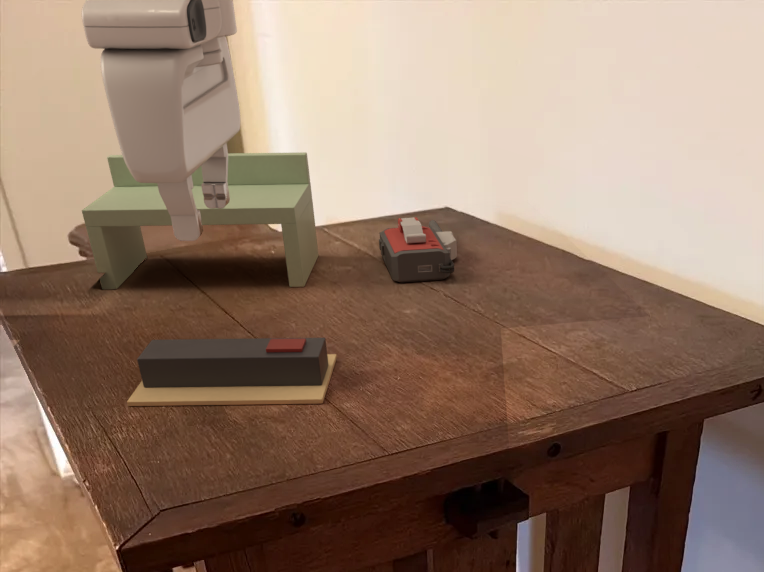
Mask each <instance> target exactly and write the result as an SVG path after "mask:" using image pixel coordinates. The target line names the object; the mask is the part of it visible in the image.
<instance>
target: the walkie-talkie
mask: <svg viewBox="0 0 764 572" xmlns="http://www.w3.org/2000/svg"><path fill="white" fill-rule="evenodd" d="M457 245H458V241H457V239H456V237H455V236H454V233H453V232H452V231H451V230H447V231H443V229H441V227H440V226H439V223H437V220H434V219H431V220H429V222H428V226H426V225H422V223H421V221H419V218H418V217H417V216H416V217H414V216H413V217H401V218H400V217H399V218H397V227H388V228H386V229H384V230H382V231H380V232H379V239H378V248H379V251H380V255H381V258H382V260H383V262H384V264H385V266H386V269H387V270H388V273H389V275H390V278H391V279H392V281H394V282H398V283H413V282H414V283H415V282H427V281H429V282H430V281H440V280H445V279H447V278H448V277H450V276H451V274H453V273H455V266H456V265H455V263H454V261H453V260H455V259H456V258H457V257H458V246H457Z"/></svg>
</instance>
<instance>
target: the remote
mask: <svg viewBox="0 0 764 572" xmlns="http://www.w3.org/2000/svg"><path fill="white" fill-rule="evenodd" d="M327 354H328V349H327V339H326V337H271V338H270V337H268V338H267V337H265V338H264V337H261V338H189V339H187V338H185V339H184V338H183V339H182V338H178V339H151V341H149V343H148V344H147V346H146V347H145V348H144V349H143V351H142V352H141V353H140V355H139V356H138V357H137V358H136V361H137V365H138V369H139V373H140V377H141V381H143V385H144V388H154V387H234V386H313V385H322V383H323V380H324V377H325V374H326V371H327V368H328V365H329V364H328V356H327Z"/></svg>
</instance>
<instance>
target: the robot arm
mask: <svg viewBox="0 0 764 572" xmlns="http://www.w3.org/2000/svg"><path fill="white" fill-rule="evenodd" d="M234 5H235V4H234V0H85V1H84V3H83V5H82V8H81V22H82V26H83V31H84V36H85V38H86V42H87V44H88V45H89V47H90V48H92V49H95V50H96V49H97V50H98V49H99V50H101V49H102V52H101V55H100V71H101V72H100V73H101V77H102V83H103V87H104V92H105V97H106V100H107V104H108V108H109V113H110V116H111V120H112V123H113V127H114V131H115V135H116V138H117V141H118V147H119V149H120V152H121V155H122V156H123V158H124V161H125V163H126V165H127V167H128V169H129V171H130V173H131V175H132V176H133V178H134V179H135V180H136V181H137V182H140V183H157V184H158V189H159V193H160V195H161V198H162V200H163V202H164V204H165V206H166V208H167V210H168V212H169V214H170V216H171V221H172V230H173V235H174V237H175V239H176V240H177V241H180V242H195V241H197V240H198V239H199V238H200V237H201V235H202V234H203V232H204V228H203V227H204V225H202V221H201V214H200V210H197V209H196V205H195V201H194V197H193V193H192V189H193V181H192V174H193V173H194V172H195V171H196V170H197V169H198V168H199V167H200V166H201V167H202V176H203V183H202V185H201V187H202V192H203V196H204V204H205V205H206V206H207V207H208V208H210V209H214V208H218V209H220V208H224V207H225V206H226V205H227V204H228V203H229V201H230V196H229V189H228V182H227V180H228V154H229V150H228V142H229V141H230V140H231V139H232V138H234V136H236V135H237V134H238V133H239V132H240V131H241V108H240V103H239V96H238V91H237V86H236V80H235V79H236V78H235V73H234V68H233V62H232V58H231V52H230V48H229V43H228V38H227V37H231V36H233V35H236V34H237V32H238V27H237V19H236V14H235V13H236V12H235V7H234Z"/></svg>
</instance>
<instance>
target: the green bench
mask: <svg viewBox="0 0 764 572" xmlns="http://www.w3.org/2000/svg"><path fill="white" fill-rule="evenodd" d="M106 160H107V163H108V167H109V171H110V176H111V181H112V184H113V187H112V188H110V189H109V190H108V191H106V192H105V193H103V194H102V195H101V196H99V197H97V198H96V199H95V200H94V201H92V202H91V203H89V204H88V205H87V206H86V207H84V208H83V209H81V214H82V217H83V221H84V222H83V223H84V226H85V229H86V233H87V236H88V240H89V243H90V244H89V245H90V248H91V251H92V255H93V256H92V257H93V259H94V263H95V267H96V271H97V273H99V274H103V275H102V276H100V277H99V282H100V283H99V284H100V286H101V289H102V290H117V289H118V288H119V287H120V286H121V285H122V284H123V283H124V282H125V281H127V279H129V277H130V276H131V275H133V273H134V272H135V271H136V270H137V269H138V268H139V267H138V265H139V264H140V263H141V262H142V261H143V260H144V259H145V258H146V259H147V258H148V255H147V254H148V253H147V250H146V246H145V241H144V237H143V232H142V227H160V226H161V227H163V226H165V227H167V226H169V227H170V226H172V221H171V216H170V214H169V212H168V210H167V208H166V206H165V204H164V202H163V200H162V198H161V195H160V193H159V189H158V184H157V183H140V182H137V181H136V180H135V179H134V178H133V176H132V175H131V173H130V171H129V169H128V167H127V165H126V163H125V161H124V158H123V156H122V154H110V155H108V156H107V158H106ZM192 181H193V189H192V193H193V197H194V201H195V205H196V209H197V210H200V214H201V221H202V226H231V225H232V226H233V225H234V226H235V225H238V226H239V225H240V226H241V225H243V226H244V225H281V233H282V241H283V249H284V256H285V263H286V270H287V278H288V285H289V286H288V287H289V288H302V287H305V286H306V283H307V281H308V279H309V277H310V275H311V273H312V271H313V268H314V267H315V264H316V262H317V260H318V258H319V245H318V236H317V228H316V219H315V211H314V202H313V194H312V183H311V176H310V168H309V160H308V153H307V152H306V151H305V152H303V151H301V152H242V153H241V152H238V153H237V152H235V153H233V152H232V153H229V152H228V180H227V182H228V189H229V196H230V201H229V203H228V204H227V205H226V206H225V207H224V208H220V209H218V208H214V209H210V208H208V207H207V206H206V205H205V204H204V196H203V192H202V187H201V185H202V183H203V176H202V167H201V166H200V167H199V168H198V169H197V170H196V171H195V172H194V173H193V174H192ZM172 227H173V226H172ZM146 259H145V260H146ZM137 267H138V268H137ZM136 268H137V269H136ZM135 269H136V270H135ZM134 270H135V271H134Z"/></svg>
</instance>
